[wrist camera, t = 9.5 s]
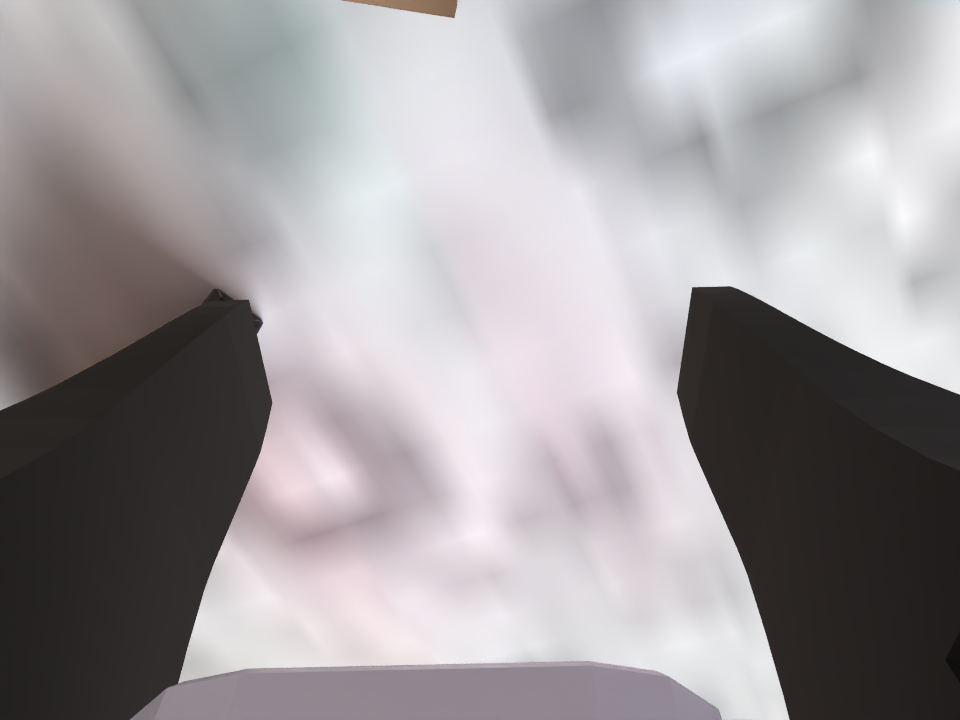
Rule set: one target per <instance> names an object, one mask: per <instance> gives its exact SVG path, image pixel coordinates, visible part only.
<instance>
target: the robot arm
mask: <svg viewBox="0 0 960 720" xmlns="http://www.w3.org/2000/svg"><path fill="white" fill-rule="evenodd" d="M677 394H678V398H679V402H680V406H681V410H682V414H683V418H684V422H685V425H686V429H687V432H688V436H689V439H690V442H691V445H692V447H693V449H694V452H695V454H696V457H697V459H698V461H699V463H700V466H701V468H702V470H703V473H704V475H705V477H706V480H707V482H708V484H709V486H710V488H711V491H712V493H713V495H714V497H715V500H716V502H717V504H718V506H719V509H720V511H721V513H722V515H723V518H724V520H725V522H726V524H727V527H728V529H729V531H730V533H731V536H732V538H733V540H734V542H735V545H736V547H737V549H738V552H739V554H740V557H741V559H742V562H743V564H744V567H745V570H746V572H747V575H748V578H749V581H750V584H751V587H752V591H753V594H754V597H755V600H756V603H757V607H758V610H759V613H760V616H761V619H762V623H763V626H764V629H765V632H766V636H767V639H768V643H769V646H770V650H771V653H772V657H773V660H774V664H775V667H776V671H777V674H778V678H779V681H780V685H781V688H782V692H783V696H784V699H785V703H786V707H787V711H788V715H789V719H790V720H960V395H959V394H956V393H954V392H951V391H948V390H946V389H943V388H941V387H938V386H936V385H933V384H930V383H928V382H925V381H923V380H920V379H917V378H915V377H912V376H910V375H907V374H905V373H903V372H900V371H898V370H896V369H893V368H891V367H889V366H887V365H884V364H882V363H880V362H878V361H876V360H874V359H872V358H870V357H867V356H865V355H863V354H861V353H859V352H857V351H855V350H853V349H851V348H849V347H847V346H845V345H843V344H841V343H839V342H837V341H835V340H833V339H831V338H829V337H827V336H825V335H823V334H821V333H820V332H818V331H816V330H814V329H812V328H810V327H808V326H807V325H805V324H803V323H801V322H799V321H797V320H796V319H794V318H792V317H790V316H788V315H787V314H785V313H783V312H781V311H779V310H777V309H776V308H774V307H772V306H770V305H768V304H767V303H765V302H763V301H761V300H759V299H757V298H755V297H753V296H751V295H749V294H747V293H745V292H743V291H741V290H739V289H736V288H733V287H730V286H728V287H692V293H691V300H690V307H689V314H688V320H687V327H686V334H685V341H684V348H683V355H682V361H681V368H680V375H679V382H678V389H677ZM271 406H272V399H271V395H270V391H269V386H268V382H267V377H266V373H265V369H264V364H263V360H262V356H261V351H260V347H259V342H258V338H257V334H256V329H255V325H254V320H253V316H252V312H251V307H250V303H249V300H228V301H210V302H208V303H205V304H203V305H201V306H199V307H196V308H194V309H193V310H191V311H189V312H187V313H185V314H183V315H181V316H180V317H178V318H176V319H174V320H173V321H171V322H169V323H167V324H166V325H164V326H162V327H160V328H159V329H157V330H155V331H154V332H152V333H150V334H148V335H147V336H145V337H143V338H142V339H140V340H138V341H136V342H135V343H133V344H131V345H130V346H128V347H126V348H124V349H123V350H121V351H119V352H117V353H116V354H114V355H112V356H110V357H108V358H106V359H105V360H103V361H101V362H99V363H97V364H95V365H93V366H91V367H90V368H88V369H86V370H84V371H82V372H80V373H78V374H77V375H75V376H73V377H71V378H69V379H67V380H65V381H63V382H62V383H60V384H58V385H56V386H53V387H51V388H49V389H47V390H45V391H43V392H41V393H39V394H37V395H35V396H33V397H30V398H28V399H26V400H24V401H21V402H19V403H17V404H14V405H12V406H10V407H8V408H5V409H3V410H1V411H0V720H722V719H721V715H720V712H719V709H717V708H716V707H714V706H713V705H711V704H710V703H708V702H707V701H705V700H704V699H702V698H701V697H699V696H698V695H696V694H695V693H693V692H692V691H690V690H688V689H687V688H685V687H684V686H682V685H681V684H679V683H678V682H676V681H675V680H673V679H672V678H670V677H669V676H666V675H664V674H662V673H660V672H657V671H653V670H646V669H639V668H632V667H625V666H618V665H611V664H604V663H598V662H591V661H572V662H528V663H483V664H438V665H394V666H349V667H304V668H260V669H245V670H240V671H235V672H230V673H225V674H220V675H215V676H209V677H204V678H199V679H194V680H189V681H184V682H181V683H179V684H178V682H179V678H180V674H181V670H182V666H183V663H184V659H185V655H186V651H187V647H188V644H189V640H190V637H191V633H192V630H193V627H194V623H195V620H196V616H197V613H198V609H199V606H200V603H201V599H202V596H203V592H204V589H205V586H206V583H207V581H208V578H209V575H210V572H211V570H212V567H213V564H214V562H215V559H216V557H217V555H218V552H219V550H220V548H221V545H222V543H223V540H224V538H225V536H226V533H227V531H228V529H229V526H230V524H231V522H232V519H233V517H234V515H235V512H236V510H237V507H238V505H239V503H240V500H241V498H242V496H243V493H244V491H245V489H246V486H247V484H248V481H249V479H250V476H251V474H252V472H253V469H254V467H255V464H256V462H257V459H258V457H259V454H260V451H261V448H262V444H263V440H264V436H265V432H266V428H267V424H268V420H269V415H270V411H271Z"/></svg>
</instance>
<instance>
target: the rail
mask: <svg viewBox="0 0 960 720" xmlns="http://www.w3.org/2000/svg"><path fill="white" fill-rule="evenodd" d="M343 1H349V2H356V3H362V4H368V5H375V6H381V7H388V8H394V9H400V10H407V11H413V12H419V13H426V14H432V15H439V16H445V17H451V18H454V17H455V12H456V8H457V0H343Z"/></svg>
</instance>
